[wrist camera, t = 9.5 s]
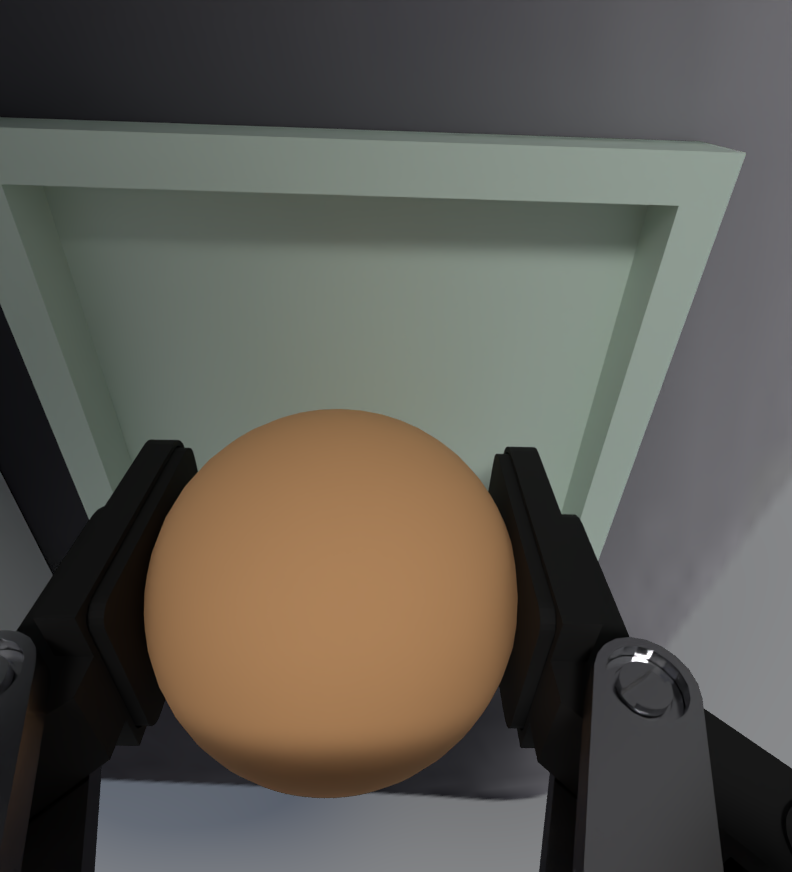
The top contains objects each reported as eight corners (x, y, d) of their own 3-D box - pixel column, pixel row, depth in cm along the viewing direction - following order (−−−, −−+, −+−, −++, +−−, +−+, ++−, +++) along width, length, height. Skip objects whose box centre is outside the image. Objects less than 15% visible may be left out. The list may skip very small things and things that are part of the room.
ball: (182, 342, 10) (-31, 628, 5) (508, 350, 10) (624, 636, 5) (230, 565, 13) (135, 864, 8) (471, 569, 13) (518, 865, 8)
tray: (-12, 117, 9) (-74, 125, 8) (700, 141, 10) (746, 152, 8) (154, 589, 16) (135, 631, 15) (557, 594, 17) (570, 636, 16)
